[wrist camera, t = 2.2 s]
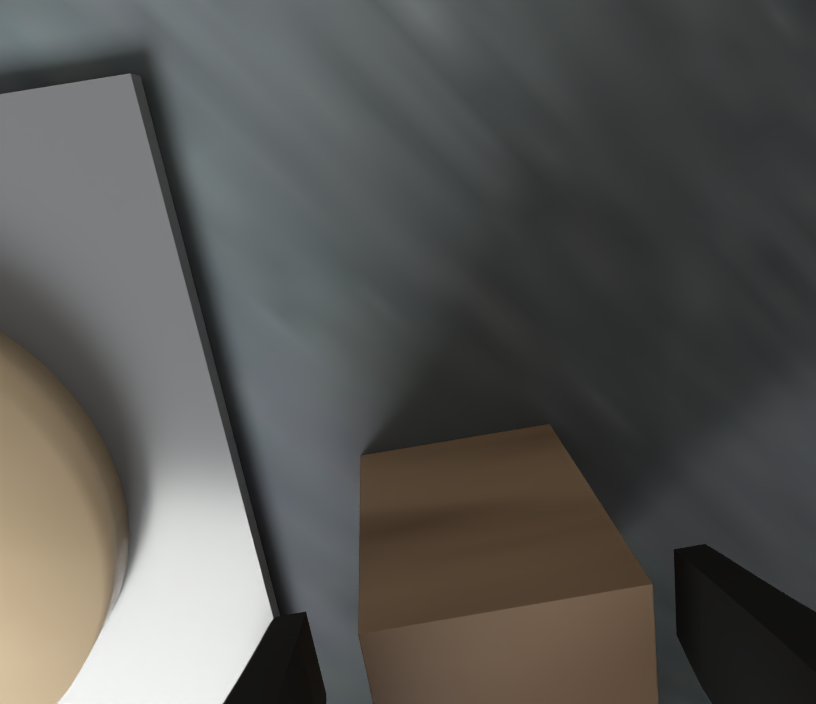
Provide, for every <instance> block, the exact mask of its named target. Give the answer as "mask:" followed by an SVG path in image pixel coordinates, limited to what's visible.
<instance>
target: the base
mask: <svg viewBox="0 0 816 704" xmlns="http://www.w3.org/2000/svg"><path fill="white" fill-rule="evenodd" d="M278 616H280V614H279V610H278V606H277V602H276V598H275V594H274V590H273V587H272V583H271V579H270V575H269V571H268V567H267V563H266V559H265V556H264V552H263V548H262V544H261V540H260V536H259V532H258V528H257V525H256V521H255V517H254V513H253V509H252V505H251V501H250V498H249V494H248V490H247V486H246V482H245V478H244V474H243V470H242V467H241V463H240V459H239V455H238V451H237V447H236V443H235V440H234V436H233V432H232V428H231V424H230V420H229V416H228V412H227V409H226V405H225V401H224V397H223V393H222V389H221V385H220V381H219V378H218V374H217V370H216V366H215V362H214V358H213V354H212V351H211V347H210V343H209V339H208V335H207V331H206V327H205V323H204V320H203V316H202V312H201V308H200V304H199V300H198V296H197V292H196V289H195V285H194V281H193V277H192V273H191V269H190V265H189V262H188V258H187V254H186V250H185V246H184V242H183V238H182V234H181V231H180V227H179V223H178V219H177V215H176V211H175V207H174V204H173V200H172V196H171V192H170V188H169V184H168V180H167V176H166V173H165V169H164V165H163V161H162V157H161V153H160V149H159V145H158V142H157V138H156V134H155V130H154V126H153V122H152V118H151V115H150V111H149V107H148V103H147V99H146V95H145V91H144V87H143V84H142V80H141V76H139V75H135V74H131V73H129V74H123V75H117V76H111V77H104V78H98V79H92V80H86V81H79V82H73V83H67V84H61V85H54V86H48V87H42V88H36V89H30V90H23V91H17V92H11V93H5V94H0V704H223V703H224V701H225V699H226V698H227V696H228V694H229V693H230V691H231V690H232V688H233V686H234V685H235V683H236V682H237V680H238V678H239V677H240V675H241V673H242V672H243V670H244V668H245V667H246V665H247V663H248V661H249V660H250V658H251V656H252V655H253V653H254V651H255V649H256V648H257V646H258V644H259V642H260V640H261V639H262V637H263V635H264V633H265V631H266V630H267V628H268V626H269V624H270V622H271V621H272V620H273V619H274V617H278Z"/></svg>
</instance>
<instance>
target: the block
mask: <svg viewBox="0 0 816 704" xmlns="http://www.w3.org/2000/svg"><path fill="white" fill-rule="evenodd" d="M358 635H359V640H360V645H361V649H362V654H363V658H364V663H365V668H366V672H367V677H368V681H369V686H370V691H371V695H372V700H373V704H658V684H657V664H656V643H655V622H654V602H653V584H652V582H651V581H650V579H649V578H648V576H647V574H646V573H645V571H644V570H643V568H642V567H641V565H640V564H639V562H638V560H637V559H636V557H635V556H634V554H633V553H632V551H631V550H630V548H629V547H628V545H627V543H626V542H625V540H624V539H623V537H622V536H621V534H620V533H619V531H618V529H617V528H616V526H615V525H614V523H613V522H612V520H611V519H610V517H609V515H608V514H607V512H606V511H605V509H604V508H603V506H602V505H601V503H600V501H599V500H598V498H597V497H596V495H595V494H594V492H593V491H592V489H591V487H590V486H589V484H588V483H587V481H586V480H585V478H584V477H583V475H582V473H581V472H580V470H579V469H578V467H577V466H576V464H575V463H574V461H573V459H572V458H571V456H570V455H569V453H568V452H567V450H566V449H565V447H564V445H563V444H562V442H561V441H560V439H559V438H558V436H557V435H556V433H555V431H554V430H553V428H552V427H551V425H550V424H546V425H540V426H534V427H528V428H522V429H516V430H510V431H504V432H498V433H492V434H486V435H480V436H474V437H468V438H462V439H456V440H450V441H445V442H439V443H433V444H427V445H421V446H415V447H409V448H403V449H397V450H391V451H385V452H379V453H373V454H367V455H361V456H360V536H359V617H358Z"/></svg>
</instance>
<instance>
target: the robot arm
mask: <svg viewBox="0 0 816 704" xmlns="http://www.w3.org/2000/svg"><path fill="white" fill-rule="evenodd" d="M674 566H675V597H676V628H677V637H678V639H679V641H680V643H681V645H682V647H683V650H684V652H685V654H686V656H687V658H688V660H689V662H690V664H691V666H692V668H693V670H694V672H695V674H696V676H697V678H698V680H699V682H700V684H701V686H702V688H703V690H704V691H705V693H706V694H707V696H708V698H709V699H710V701H711V702H712V704H816V612H815V611H813V610H811V609H809V608H808V607H806V606H804V605H803V604H801V603H799V602H797V601H796V600H794V599H792V598H791V597H789V596H788V595H786V594H784V593H783V592H781V591H779V590H778V589H776V588H774V587H773V586H771V585H770V584H768V583H766V582H765V581H763V580H762V579H760V578H758V577H757V576H755V575H754V574H752V573H750V572H749V571H747V570H746V569H744V568H743V567H741V566H739V565H738V564H736V563H735V562H733V561H732V560H730V559H728V558H727V557H725V556H724V555H722V554H720V553H719V552H717V551H716V550H714V549H712V548H711V547H709V546H707V545H706V544H703V545H697V546H692V547H686V548H680V549H674ZM223 704H326V692H325V688H324V684H323V680H322V675H321V671H320V667H319V663H318V659H317V655H316V651H315V647H314V643H313V639H312V635H311V631H310V626H309V622H308V618H307V614H306V612H301V613H295V614H290V615H284V616H278V617H274V619H273V620H272V621H271V622H270V624H269V626H268V628H267V630H266V631H265V633H264V635H263V637H262V639H261V640H260V642H259V644H258V646H257V648H256V649H255V651H254V653H253V655H252V656H251V658H250V660H249V661H248V663H247V665H246V667H245V668H244V670H243V672H242V673H241V675H240V677H239V678H238V680H237V682H236V683H235V685H234V686H233V688H232V690H231V691H230V693H229V694H228V696H227V698H226V699H225V701H224V703H223Z"/></svg>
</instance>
